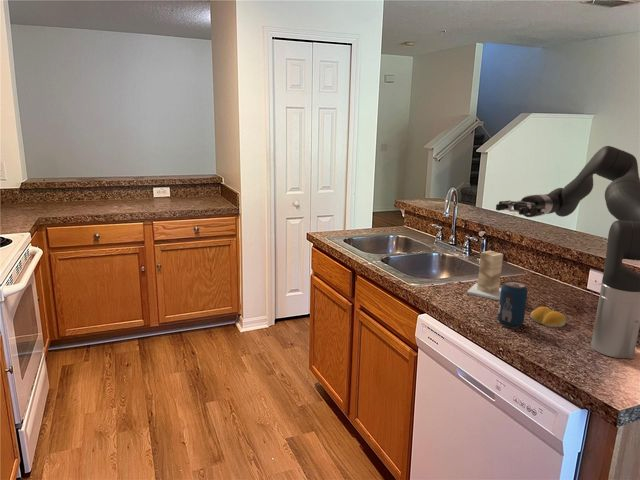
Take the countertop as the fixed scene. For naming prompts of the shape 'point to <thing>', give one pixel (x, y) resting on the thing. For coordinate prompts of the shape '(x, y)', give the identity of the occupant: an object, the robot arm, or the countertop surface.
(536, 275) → the countertop surface
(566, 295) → the countertop surface
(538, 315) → the bread roll
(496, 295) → the ceramic tile
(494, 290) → the maple block
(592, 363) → the countertop surface
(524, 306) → the soda can
